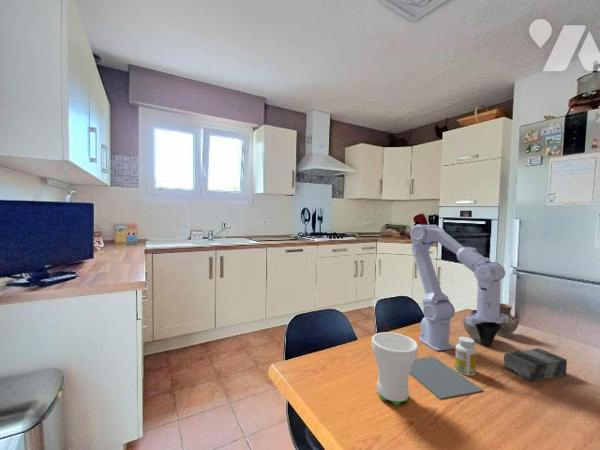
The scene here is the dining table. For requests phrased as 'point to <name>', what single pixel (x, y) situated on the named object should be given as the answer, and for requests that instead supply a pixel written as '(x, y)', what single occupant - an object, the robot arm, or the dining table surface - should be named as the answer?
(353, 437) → the dining table surface
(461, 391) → the mat
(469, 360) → the supplement bottle
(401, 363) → the cup
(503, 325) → the pottery
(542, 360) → the stone block
